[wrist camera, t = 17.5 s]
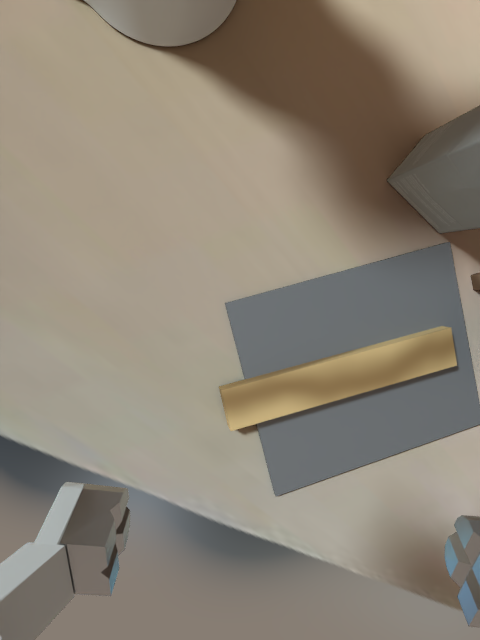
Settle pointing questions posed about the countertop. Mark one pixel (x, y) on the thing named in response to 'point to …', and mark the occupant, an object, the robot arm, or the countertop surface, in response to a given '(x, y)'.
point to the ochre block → (337, 377)
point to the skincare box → (445, 175)
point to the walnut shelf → (476, 281)
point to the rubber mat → (349, 334)
